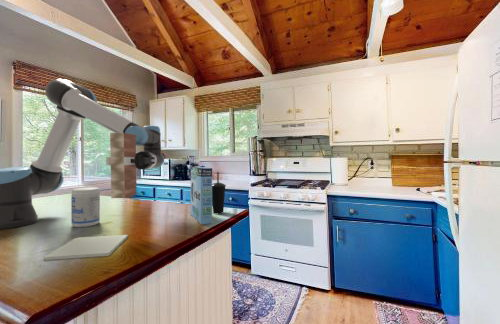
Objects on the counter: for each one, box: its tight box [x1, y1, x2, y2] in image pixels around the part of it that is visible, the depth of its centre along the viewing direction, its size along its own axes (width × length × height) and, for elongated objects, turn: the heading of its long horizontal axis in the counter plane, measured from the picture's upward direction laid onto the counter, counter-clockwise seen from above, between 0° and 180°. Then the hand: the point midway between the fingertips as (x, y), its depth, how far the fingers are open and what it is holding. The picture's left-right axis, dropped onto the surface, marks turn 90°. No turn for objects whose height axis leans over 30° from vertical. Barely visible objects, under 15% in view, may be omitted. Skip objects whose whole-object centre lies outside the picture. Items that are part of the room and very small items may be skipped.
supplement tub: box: [70, 187, 101, 228], centre depth 99 cm, size 10×10×15 cm
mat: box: [43, 234, 129, 261], centre depth 74 cm, size 16×16×1 cm
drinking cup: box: [212, 171, 227, 214], centre depth 118 cm, size 8×8×20 cm
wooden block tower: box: [109, 132, 138, 199], centre depth 85 cm, size 5×8×22 cm, turn 2°
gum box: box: [190, 165, 213, 226], centre depth 106 cm, size 20×5×23 cm, turn 26°
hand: (116, 161), depth 80 cm, fingers closed on wooden block tower, 5 cm apart
